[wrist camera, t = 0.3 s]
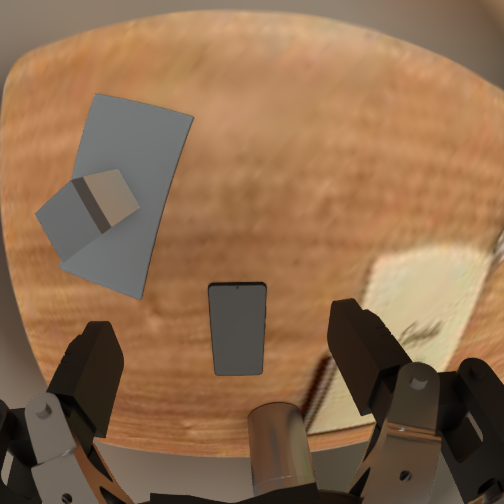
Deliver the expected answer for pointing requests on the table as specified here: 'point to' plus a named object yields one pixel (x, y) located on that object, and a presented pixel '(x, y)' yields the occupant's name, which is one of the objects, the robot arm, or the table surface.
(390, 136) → the table surface
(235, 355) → the smartphone
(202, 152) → the table surface
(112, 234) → the desk mat
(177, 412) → the table surface
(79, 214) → the block
